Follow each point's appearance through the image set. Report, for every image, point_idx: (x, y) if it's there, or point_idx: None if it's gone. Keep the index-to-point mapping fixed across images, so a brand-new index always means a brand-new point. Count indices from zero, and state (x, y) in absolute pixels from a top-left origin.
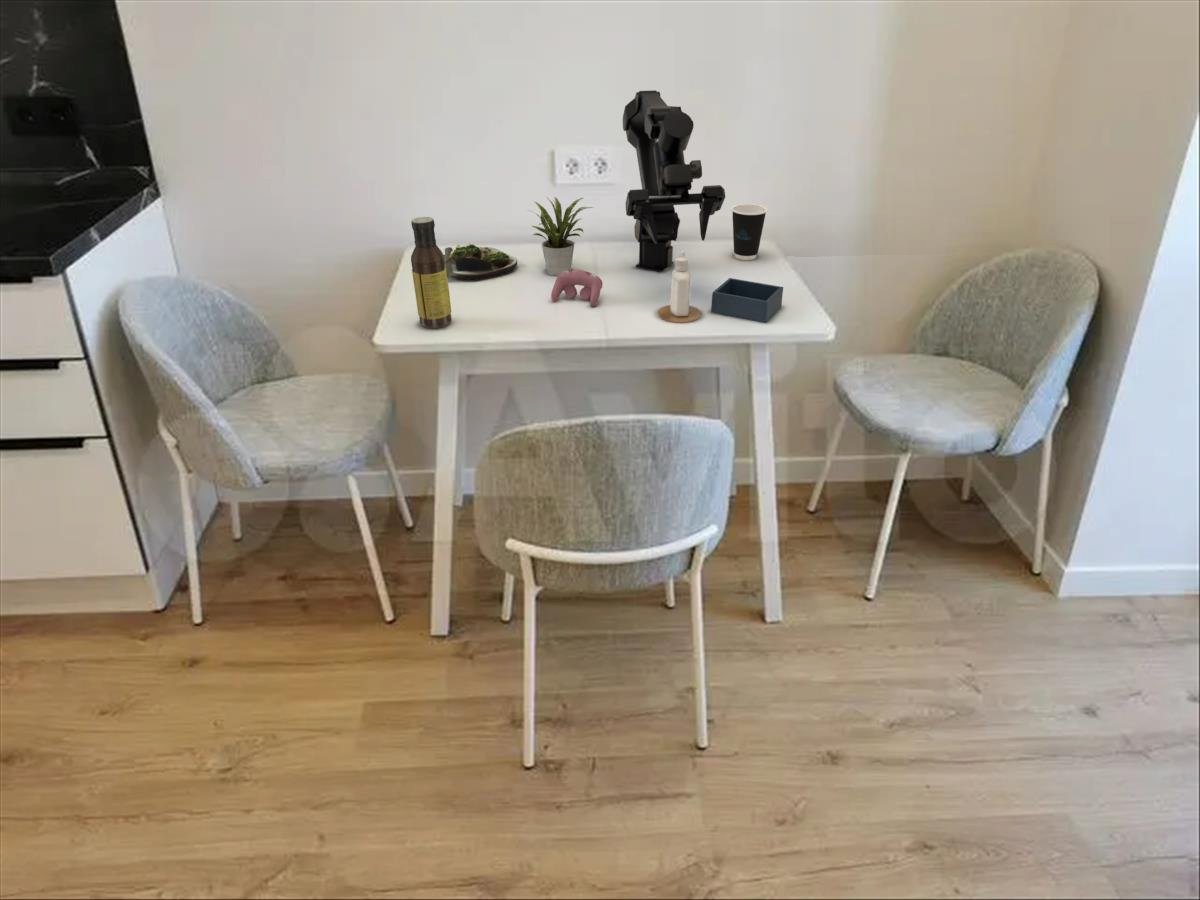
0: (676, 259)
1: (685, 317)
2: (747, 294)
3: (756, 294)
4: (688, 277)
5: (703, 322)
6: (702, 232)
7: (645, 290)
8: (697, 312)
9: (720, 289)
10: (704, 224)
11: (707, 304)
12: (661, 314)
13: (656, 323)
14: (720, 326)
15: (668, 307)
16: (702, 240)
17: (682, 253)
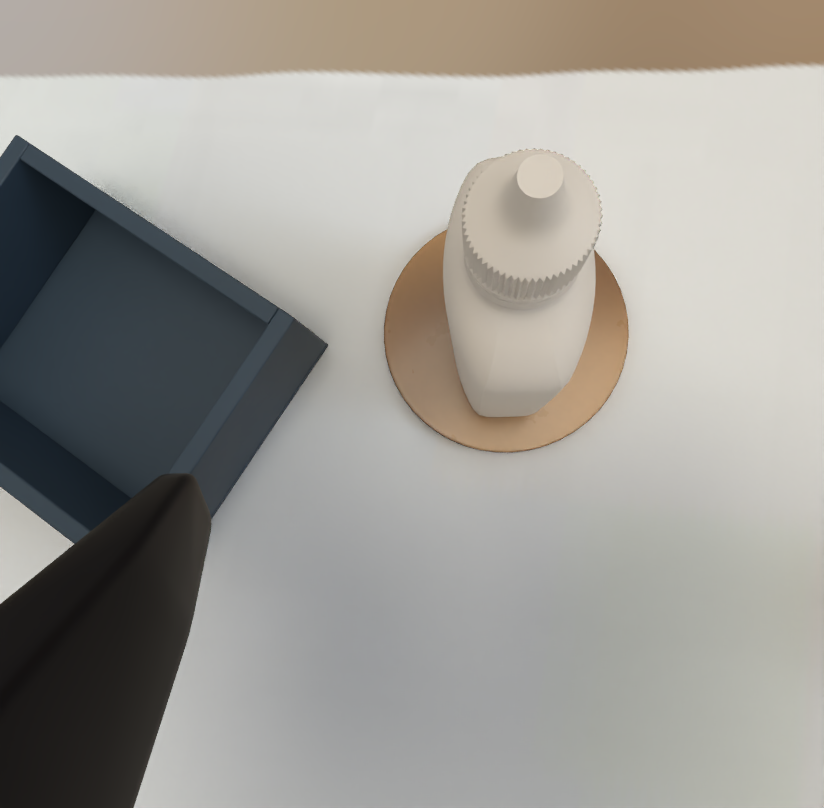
0: (594, 194)
1: None
2: (78, 478)
3: (31, 448)
4: (471, 176)
5: (395, 218)
6: (155, 526)
7: (654, 749)
8: (404, 321)
9: (228, 386)
10: (34, 619)
11: (321, 466)
12: (611, 309)
13: (648, 221)
14: (321, 163)
15: (555, 410)
16: (207, 507)
17: (537, 157)
